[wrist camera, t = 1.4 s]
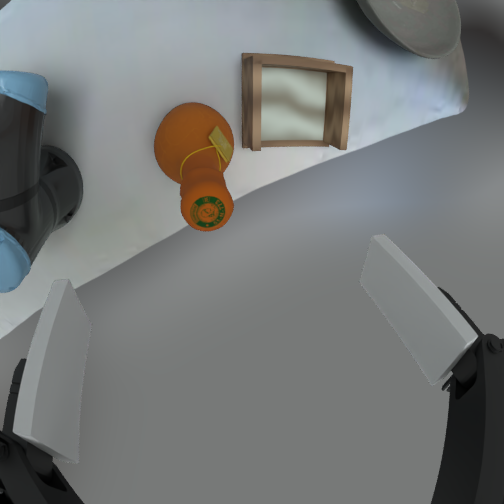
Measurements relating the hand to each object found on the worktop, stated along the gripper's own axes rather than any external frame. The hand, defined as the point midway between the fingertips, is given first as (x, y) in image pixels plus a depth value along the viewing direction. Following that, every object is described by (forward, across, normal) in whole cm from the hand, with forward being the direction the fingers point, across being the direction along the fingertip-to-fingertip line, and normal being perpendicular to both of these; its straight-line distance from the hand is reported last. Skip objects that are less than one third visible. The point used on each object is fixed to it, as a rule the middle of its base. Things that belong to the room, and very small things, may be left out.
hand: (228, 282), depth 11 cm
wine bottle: (+37, 0, 0) cm, 37 cm away
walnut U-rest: (+36, +16, +4) cm, 40 cm away
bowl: (+37, +36, +30) cm, 59 cm away
